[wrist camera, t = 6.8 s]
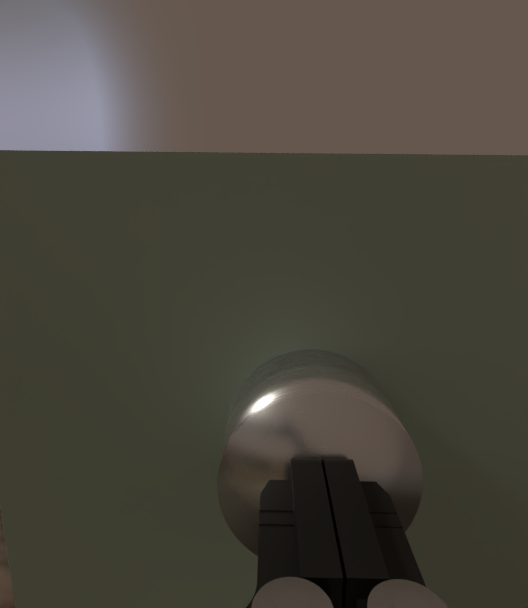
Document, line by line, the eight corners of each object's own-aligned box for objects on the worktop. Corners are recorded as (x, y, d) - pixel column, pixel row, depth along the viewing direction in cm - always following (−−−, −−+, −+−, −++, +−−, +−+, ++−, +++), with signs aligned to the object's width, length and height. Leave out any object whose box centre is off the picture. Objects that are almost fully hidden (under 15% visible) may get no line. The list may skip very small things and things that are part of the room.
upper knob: (413, 574, 12) (432, 395, 10) (218, 572, 12) (215, 392, 10) (359, 433, 18) (367, 314, 17) (236, 431, 18) (235, 312, 17)
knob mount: (532, 861, 19) (691, 157, 12) (53, 854, 19) (-54, 149, 12) (454, 666, 27) (525, 170, 20) (115, 661, 27) (70, 166, 20)
